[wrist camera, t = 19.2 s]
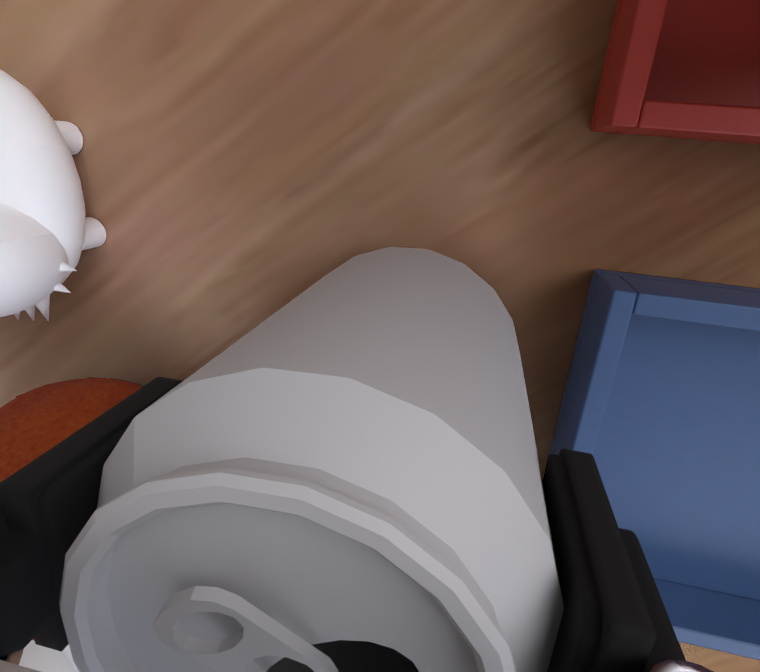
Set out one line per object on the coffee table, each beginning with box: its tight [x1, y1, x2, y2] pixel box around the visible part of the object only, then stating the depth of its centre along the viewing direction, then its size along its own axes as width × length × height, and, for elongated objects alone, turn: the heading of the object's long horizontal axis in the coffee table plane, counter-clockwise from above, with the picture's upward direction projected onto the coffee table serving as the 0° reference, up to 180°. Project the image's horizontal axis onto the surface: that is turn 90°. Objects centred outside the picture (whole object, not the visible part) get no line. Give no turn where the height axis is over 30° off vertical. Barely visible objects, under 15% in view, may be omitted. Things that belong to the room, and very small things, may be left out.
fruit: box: [0, 378, 143, 645], centre depth 17 cm, size 9×9×8 cm
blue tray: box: [548, 269, 760, 660], centre depth 15 cm, size 11×11×3 cm
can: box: [59, 247, 564, 672], centre depth 12 cm, size 8×8×12 cm
